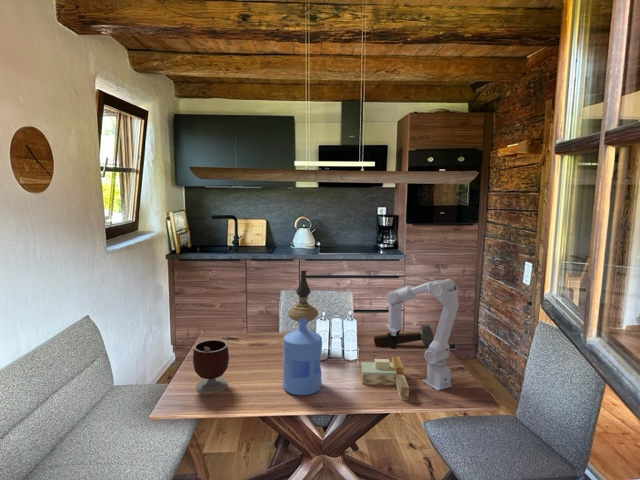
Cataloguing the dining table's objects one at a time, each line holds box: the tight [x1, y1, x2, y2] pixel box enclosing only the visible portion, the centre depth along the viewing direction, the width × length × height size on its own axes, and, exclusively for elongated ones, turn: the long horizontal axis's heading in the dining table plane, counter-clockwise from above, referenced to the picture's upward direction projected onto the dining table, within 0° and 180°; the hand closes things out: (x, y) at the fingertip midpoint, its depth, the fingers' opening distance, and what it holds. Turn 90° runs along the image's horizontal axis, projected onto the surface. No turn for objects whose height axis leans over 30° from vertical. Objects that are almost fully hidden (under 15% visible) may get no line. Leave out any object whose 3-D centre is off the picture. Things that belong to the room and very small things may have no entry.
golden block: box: [391, 355, 405, 375], centre depth 172 cm, size 3×11×2 cm, turn 179°
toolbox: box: [360, 366, 410, 401], centre depth 166 cm, size 17×22×5 cm
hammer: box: [373, 323, 435, 348], centre depth 209 cm, size 5×11×30 cm
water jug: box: [282, 319, 323, 396], centre depth 163 cm, size 16×16×28 cm
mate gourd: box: [192, 339, 230, 395], centre depth 162 cm, size 16×14×20 cm
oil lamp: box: [287, 270, 320, 330], centre depth 199 cm, size 15×15×40 cm
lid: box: [360, 358, 396, 376], centre depth 172 cm, size 17×10×5 cm, turn 89°
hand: (394, 345), depth 185 cm, fingers open, 7 cm apart
